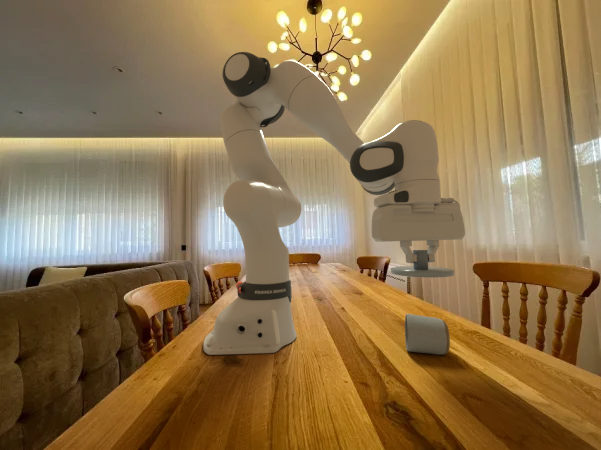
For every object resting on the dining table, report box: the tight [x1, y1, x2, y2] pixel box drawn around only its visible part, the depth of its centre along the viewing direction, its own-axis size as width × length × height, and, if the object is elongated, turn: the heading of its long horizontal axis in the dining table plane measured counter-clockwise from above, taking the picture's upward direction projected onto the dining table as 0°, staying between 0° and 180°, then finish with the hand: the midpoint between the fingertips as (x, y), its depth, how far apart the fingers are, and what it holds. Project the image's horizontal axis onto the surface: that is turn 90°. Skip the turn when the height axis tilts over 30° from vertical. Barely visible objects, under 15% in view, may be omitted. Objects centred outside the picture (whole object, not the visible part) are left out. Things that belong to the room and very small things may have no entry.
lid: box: [390, 249, 455, 278], centre depth 53 cm, size 12×12×5 cm
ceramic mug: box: [404, 313, 451, 356], centre depth 56 cm, size 11×8×8 cm
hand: (420, 262), depth 53 cm, fingers closed on lid, 3 cm apart
